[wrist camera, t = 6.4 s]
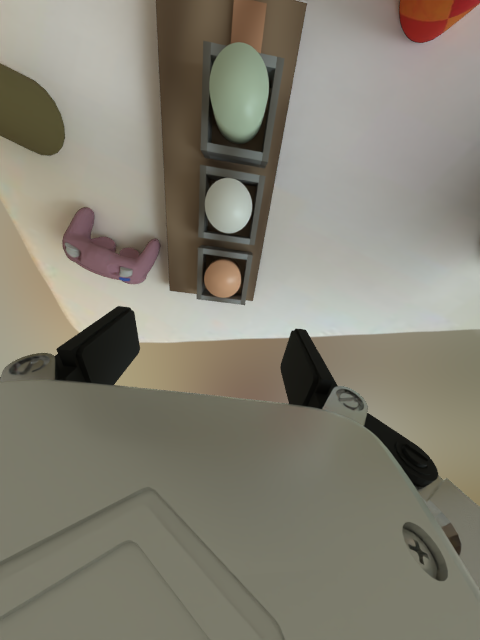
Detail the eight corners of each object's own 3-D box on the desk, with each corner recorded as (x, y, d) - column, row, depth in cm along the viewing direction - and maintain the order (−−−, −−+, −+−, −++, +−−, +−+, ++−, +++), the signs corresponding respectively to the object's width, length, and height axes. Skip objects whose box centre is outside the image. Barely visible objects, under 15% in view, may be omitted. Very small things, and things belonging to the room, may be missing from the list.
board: (299, 26, 17) (318, -35, 13) (251, 296, 29) (253, 308, 25) (163, -6, 16) (138, -82, 12) (174, 286, 28) (163, 297, 24)
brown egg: (242, 259, 24) (243, 264, 21) (238, 291, 26) (238, 299, 23) (208, 254, 24) (204, 259, 21) (207, 287, 26) (203, 295, 23)
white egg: (253, 187, 19) (255, 182, 16) (247, 234, 21) (248, 236, 18) (210, 180, 19) (205, 173, 16) (208, 228, 21) (203, 229, 18)
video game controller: (92, 233, 26) (54, 263, 22) (83, 201, 22) (35, 229, 18) (162, 263, 28) (138, 296, 24) (163, 238, 24) (136, 271, 20)
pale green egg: (268, 78, 15) (274, 49, 13) (259, 148, 17) (262, 135, 15) (216, 67, 15) (211, 35, 12) (212, 139, 17) (207, 124, 15)
